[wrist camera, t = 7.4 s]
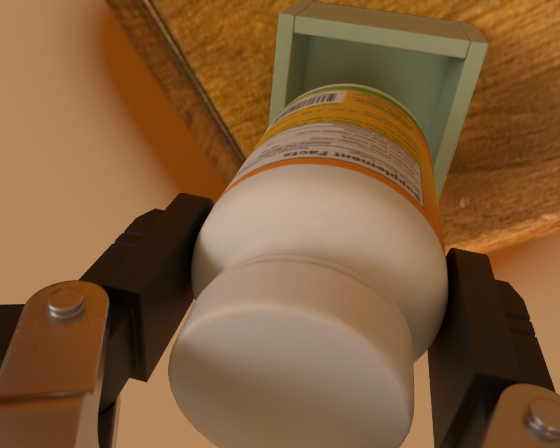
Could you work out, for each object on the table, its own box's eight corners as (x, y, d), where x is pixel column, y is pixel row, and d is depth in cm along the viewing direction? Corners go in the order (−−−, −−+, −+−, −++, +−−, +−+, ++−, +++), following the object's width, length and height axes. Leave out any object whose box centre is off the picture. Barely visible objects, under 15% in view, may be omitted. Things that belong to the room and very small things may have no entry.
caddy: (283, 154, 24) (261, 192, 20) (300, -1, 20) (278, 12, 17) (427, 181, 23) (430, 226, 19) (474, 23, 19) (490, 43, 16)
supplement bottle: (379, 255, 17) (359, 541, 9) (244, 192, 17) (101, 424, 9) (466, 126, 14) (553, 378, 6) (303, 48, 14) (169, 200, 6)
